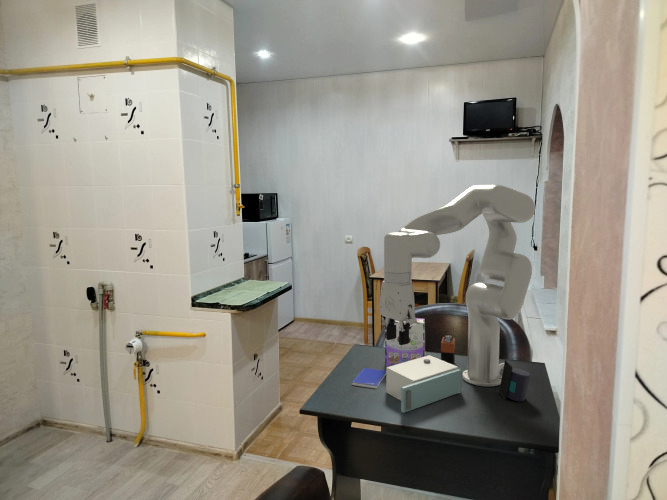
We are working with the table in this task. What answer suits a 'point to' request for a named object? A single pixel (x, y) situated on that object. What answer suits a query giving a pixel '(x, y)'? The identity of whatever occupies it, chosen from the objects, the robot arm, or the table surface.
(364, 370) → the hard drive
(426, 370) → the white knobbed box
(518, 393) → the speaker
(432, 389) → the side door
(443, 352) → the battery
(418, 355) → the candy box
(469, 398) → the table surface
